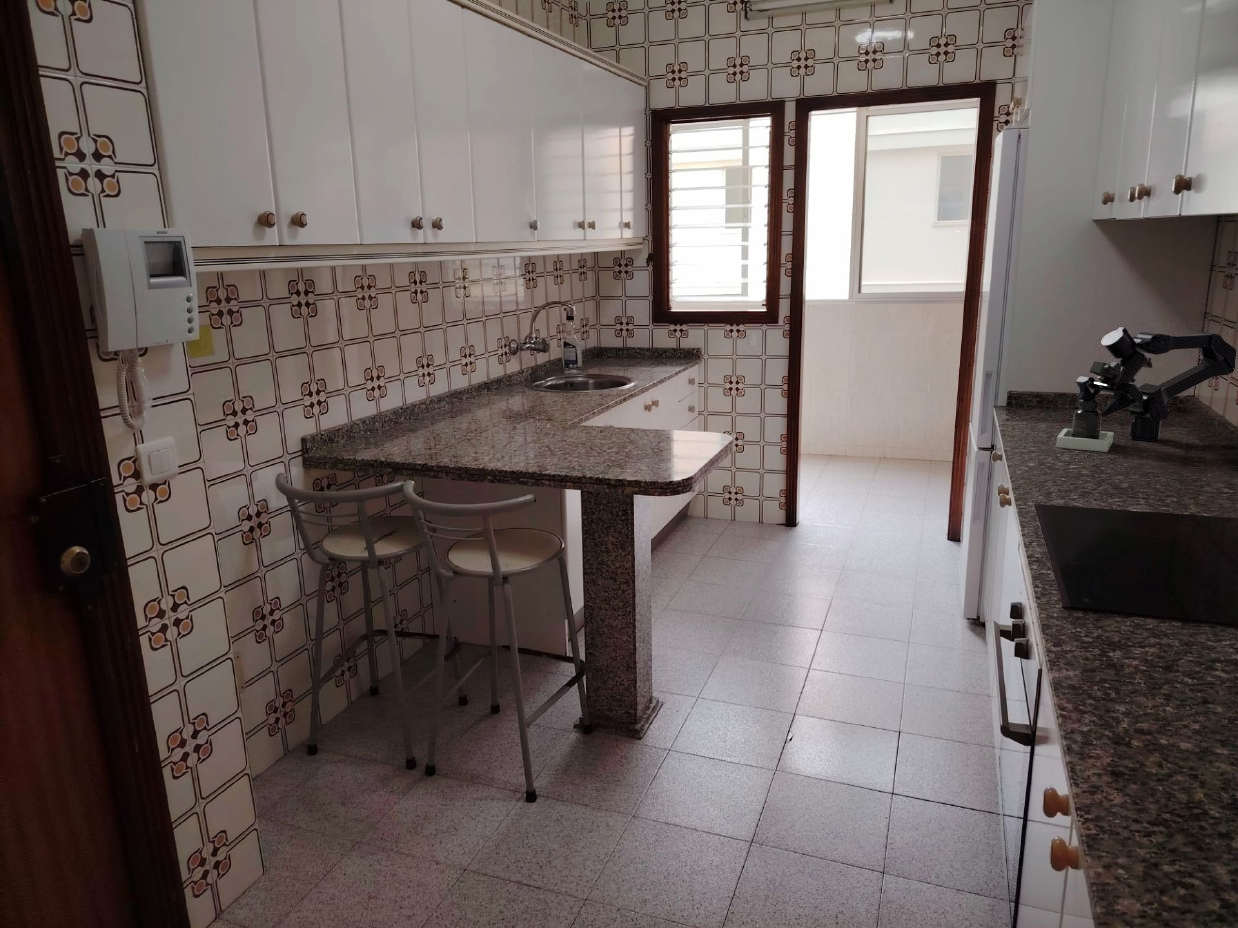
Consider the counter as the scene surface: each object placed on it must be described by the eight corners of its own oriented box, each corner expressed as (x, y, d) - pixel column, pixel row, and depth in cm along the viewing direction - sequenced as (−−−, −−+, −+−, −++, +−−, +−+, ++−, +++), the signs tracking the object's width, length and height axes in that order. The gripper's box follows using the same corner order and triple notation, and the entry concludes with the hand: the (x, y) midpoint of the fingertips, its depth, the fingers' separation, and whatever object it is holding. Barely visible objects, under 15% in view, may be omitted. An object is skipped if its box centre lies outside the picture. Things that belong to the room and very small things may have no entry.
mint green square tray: (1112, 442, 237) (1113, 432, 236) (1107, 451, 227) (1108, 441, 227) (1063, 438, 244) (1063, 428, 243) (1056, 447, 234) (1057, 436, 234)
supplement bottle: (1103, 445, 232) (1108, 402, 229) (1078, 446, 232) (1082, 403, 229) (1090, 440, 239) (1095, 398, 236) (1066, 441, 239) (1070, 399, 236)
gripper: (1084, 347, 239) (1048, 389, 239) (1139, 354, 222) (1100, 399, 222) (1104, 372, 243) (1068, 414, 243) (1160, 381, 226) (1122, 426, 226)
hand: (1088, 412), depth 234 cm, fingers open, 9 cm apart
